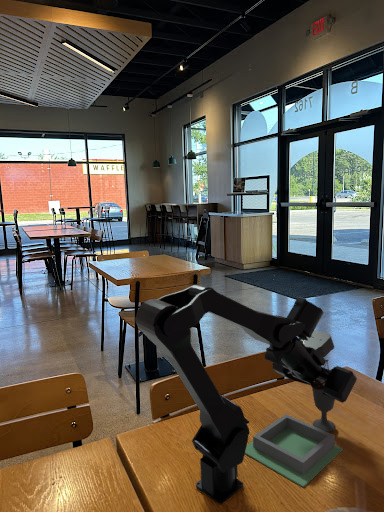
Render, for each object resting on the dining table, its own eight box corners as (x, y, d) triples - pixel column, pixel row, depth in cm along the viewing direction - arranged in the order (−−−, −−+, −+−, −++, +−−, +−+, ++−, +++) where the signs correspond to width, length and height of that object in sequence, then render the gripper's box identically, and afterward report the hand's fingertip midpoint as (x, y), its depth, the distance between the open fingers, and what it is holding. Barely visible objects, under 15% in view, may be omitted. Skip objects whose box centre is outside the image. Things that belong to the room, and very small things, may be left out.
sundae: (334, 417, 89) (335, 356, 88) (343, 434, 83) (343, 368, 81) (306, 417, 90) (305, 356, 88) (312, 433, 83) (312, 368, 82)
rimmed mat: (303, 487, 69) (303, 473, 69) (240, 451, 80) (239, 438, 80) (342, 449, 79) (342, 437, 78) (281, 422, 90) (281, 410, 90)
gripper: (351, 333, 74) (382, 373, 81) (280, 313, 89) (311, 348, 96) (325, 383, 70) (360, 420, 77) (256, 353, 86) (290, 386, 93)
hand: (328, 389), depth 86 cm, fingers closed on sundae, 6 cm apart
